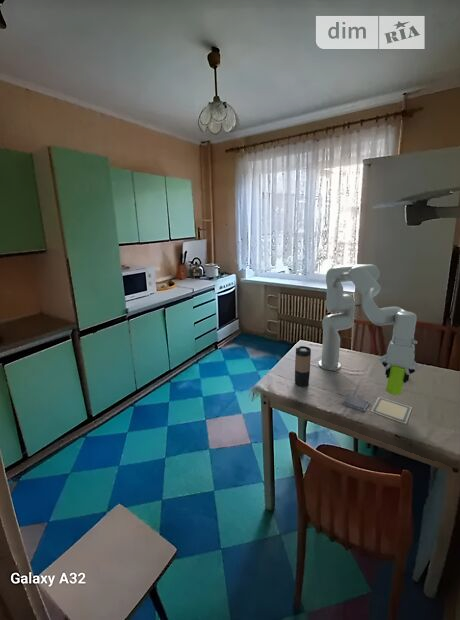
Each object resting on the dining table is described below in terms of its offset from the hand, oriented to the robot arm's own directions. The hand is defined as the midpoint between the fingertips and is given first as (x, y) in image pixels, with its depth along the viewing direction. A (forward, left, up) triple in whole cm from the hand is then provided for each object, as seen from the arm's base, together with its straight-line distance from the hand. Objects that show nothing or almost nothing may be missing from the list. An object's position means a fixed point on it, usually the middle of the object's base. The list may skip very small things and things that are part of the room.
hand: (396, 378), depth 126 cm
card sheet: (0, 0, -16) cm, 16 cm away
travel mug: (+4, -42, -16) cm, 45 cm away
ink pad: (+5, -14, -16) cm, 22 cm away
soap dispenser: (0, 0, -7) cm, 7 cm away
